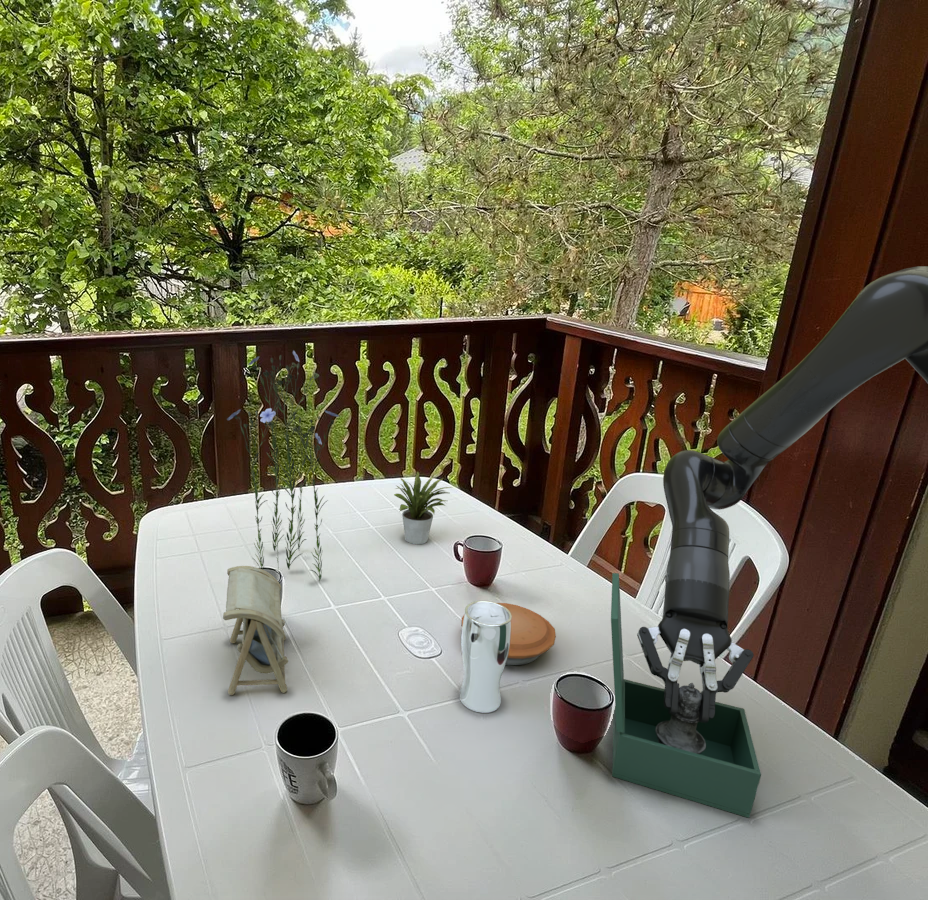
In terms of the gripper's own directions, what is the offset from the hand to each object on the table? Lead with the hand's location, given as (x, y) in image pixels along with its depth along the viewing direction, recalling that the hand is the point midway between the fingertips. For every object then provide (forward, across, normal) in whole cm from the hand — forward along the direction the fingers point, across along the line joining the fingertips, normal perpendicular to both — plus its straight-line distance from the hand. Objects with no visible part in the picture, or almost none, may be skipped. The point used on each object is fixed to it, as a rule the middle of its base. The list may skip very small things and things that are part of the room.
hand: (688, 717), depth 80 cm
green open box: (+5, 0, +8) cm, 9 cm away
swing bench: (+9, -61, +4) cm, 62 cm away
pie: (-7, -25, +20) cm, 33 cm away
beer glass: (+4, -26, +9) cm, 28 cm away
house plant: (-30, -50, +43) cm, 72 cm away
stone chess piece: (+5, 0, +7) cm, 9 cm away
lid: (-6, -9, -3) cm, 11 cm away
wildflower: (-13, -72, +26) cm, 77 cm away
